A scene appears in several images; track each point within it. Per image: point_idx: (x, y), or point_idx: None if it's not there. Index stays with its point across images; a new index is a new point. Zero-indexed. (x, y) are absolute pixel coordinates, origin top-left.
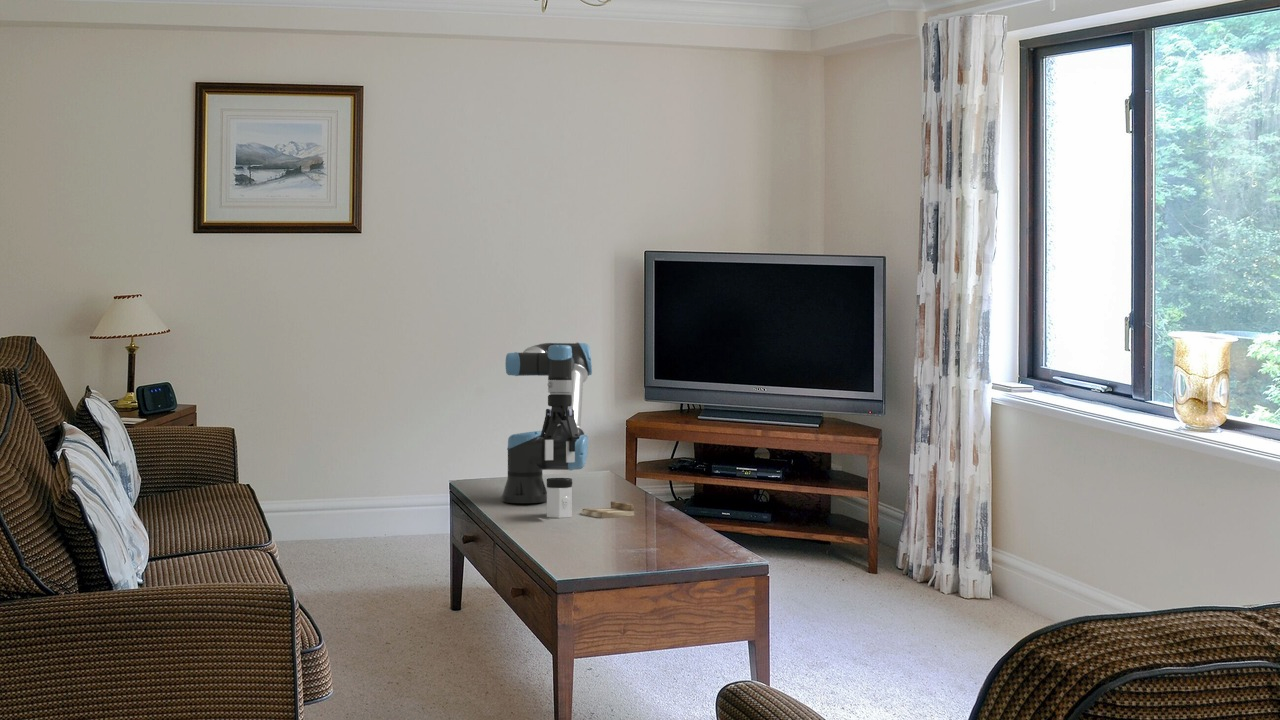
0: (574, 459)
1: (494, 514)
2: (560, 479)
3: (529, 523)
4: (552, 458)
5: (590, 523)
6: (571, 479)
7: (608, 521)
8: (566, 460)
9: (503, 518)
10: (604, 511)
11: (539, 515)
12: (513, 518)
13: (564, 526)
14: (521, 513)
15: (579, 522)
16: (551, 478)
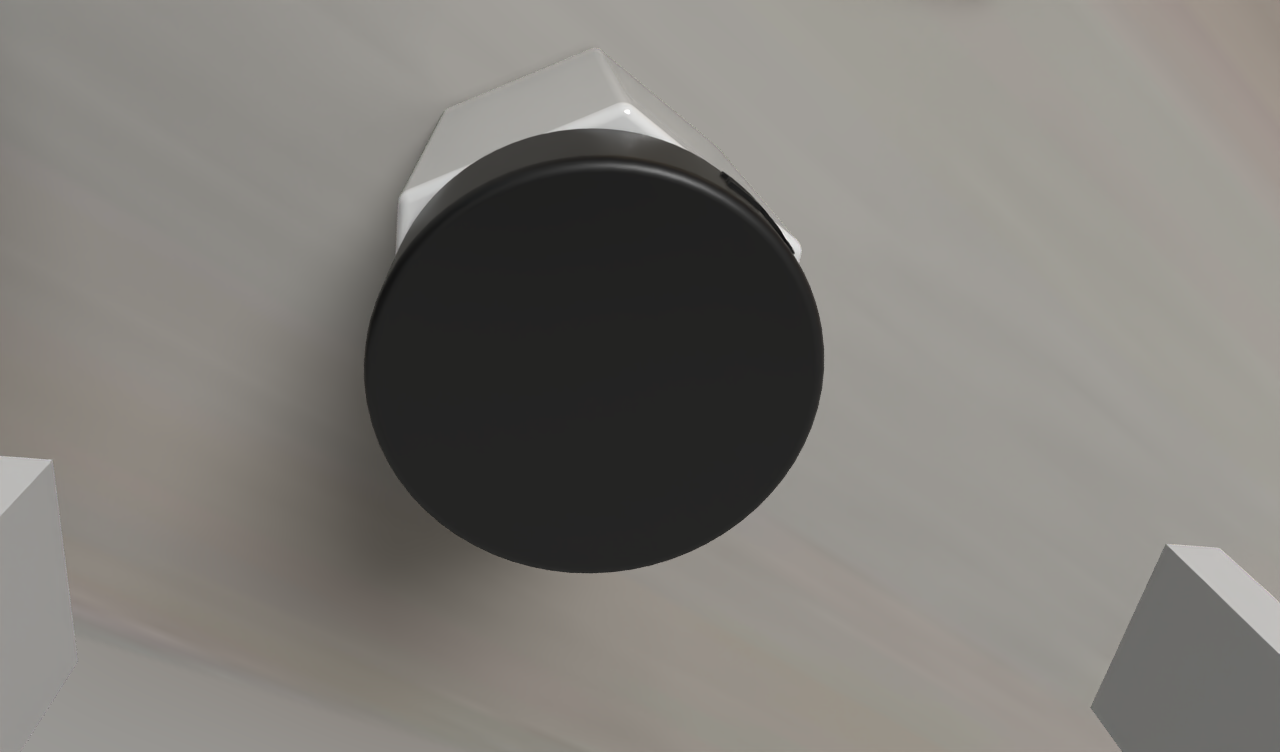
0: (1261, 598)
1: None
2: (732, 456)
3: (796, 657)
4: (26, 509)
5: (1192, 308)
6: (794, 259)
7: (1250, 75)
8: (1135, 744)
9: (366, 652)
10: None
11: (341, 299)
12: (419, 596)
13: (1134, 565)
14: (49, 339)
15: (1066, 338)
16: (457, 457)
